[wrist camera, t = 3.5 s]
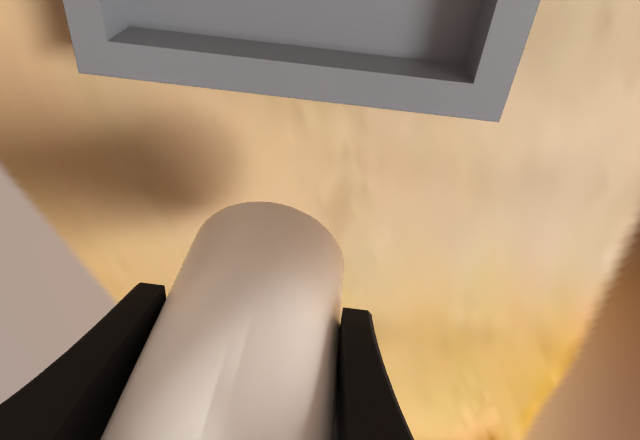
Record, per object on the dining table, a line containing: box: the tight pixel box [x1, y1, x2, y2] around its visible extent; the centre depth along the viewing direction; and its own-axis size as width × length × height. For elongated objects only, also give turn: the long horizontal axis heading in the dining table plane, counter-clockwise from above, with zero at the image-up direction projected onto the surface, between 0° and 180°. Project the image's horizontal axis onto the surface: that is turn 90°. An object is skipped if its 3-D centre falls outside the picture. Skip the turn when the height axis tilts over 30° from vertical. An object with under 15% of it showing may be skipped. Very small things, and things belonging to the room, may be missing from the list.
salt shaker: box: [100, 202, 344, 440], centre depth 11 cm, size 5×5×8 cm
